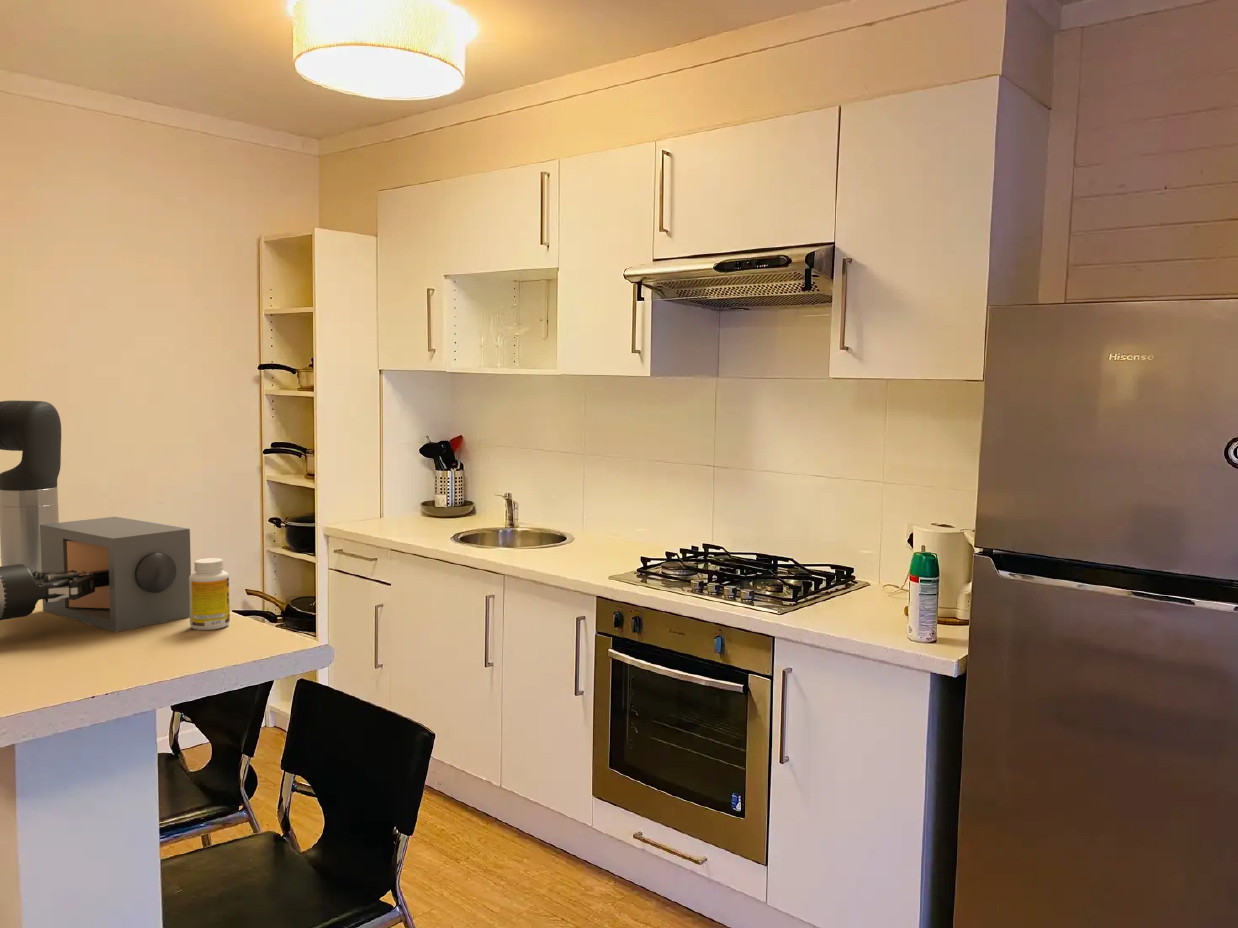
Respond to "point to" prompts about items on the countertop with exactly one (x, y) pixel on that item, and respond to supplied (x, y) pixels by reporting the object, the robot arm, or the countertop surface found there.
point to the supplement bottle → (209, 595)
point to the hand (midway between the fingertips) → (114, 576)
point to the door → (89, 561)
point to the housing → (126, 570)
